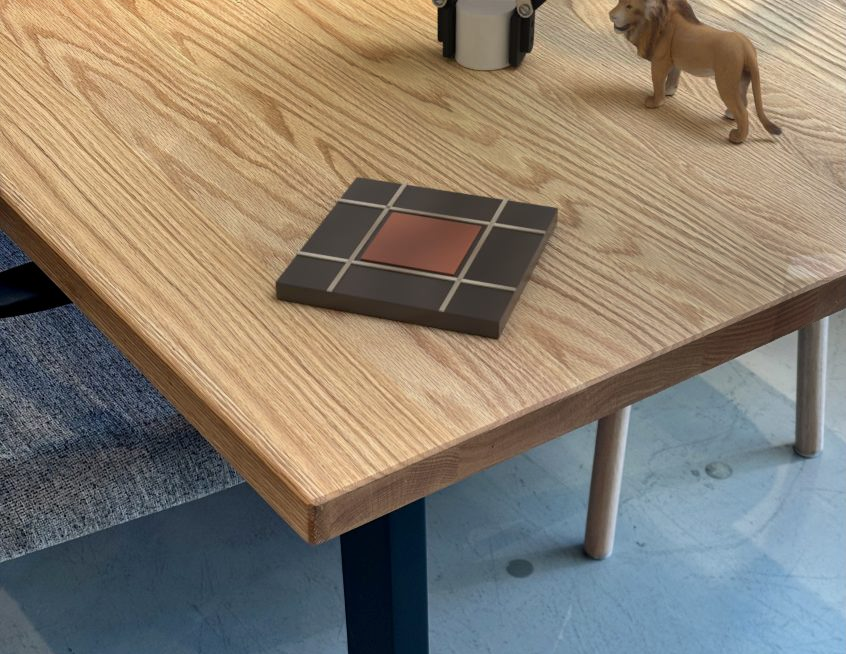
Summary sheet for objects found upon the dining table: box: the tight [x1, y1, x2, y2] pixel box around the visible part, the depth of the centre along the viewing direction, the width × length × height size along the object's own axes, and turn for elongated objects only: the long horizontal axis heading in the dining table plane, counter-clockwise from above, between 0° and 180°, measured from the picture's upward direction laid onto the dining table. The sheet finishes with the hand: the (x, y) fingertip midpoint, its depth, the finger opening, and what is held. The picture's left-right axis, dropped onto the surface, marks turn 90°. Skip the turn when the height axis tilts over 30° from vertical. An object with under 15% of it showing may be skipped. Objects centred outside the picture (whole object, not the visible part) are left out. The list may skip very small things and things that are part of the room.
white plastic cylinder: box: [454, 0, 516, 71], centre depth 105 cm, size 5×5×4 cm
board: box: [274, 176, 559, 339], centre depth 83 cm, size 14×14×1 cm
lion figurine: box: [608, 0, 783, 143], centre depth 96 cm, size 15×5×9 cm, turn 50°
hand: (485, 53), depth 106 cm, fingers closed on white plastic cylinder, 4 cm apart
